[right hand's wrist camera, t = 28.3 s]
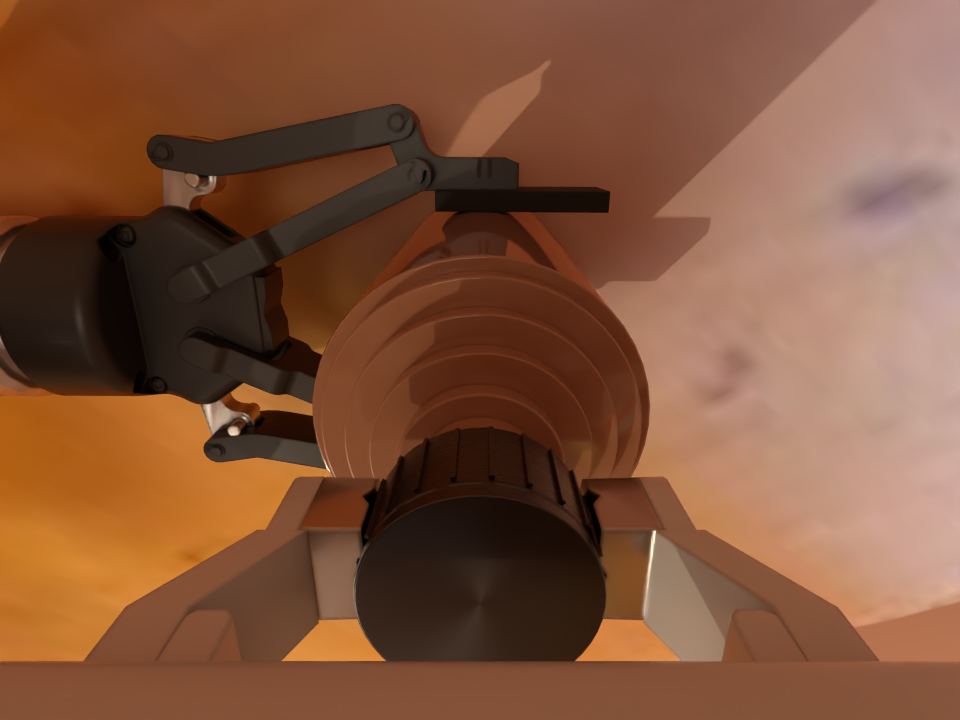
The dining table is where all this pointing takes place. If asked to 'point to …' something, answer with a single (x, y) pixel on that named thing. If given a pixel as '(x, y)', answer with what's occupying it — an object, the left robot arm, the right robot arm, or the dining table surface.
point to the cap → (480, 554)
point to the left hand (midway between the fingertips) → (592, 309)
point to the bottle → (481, 353)
